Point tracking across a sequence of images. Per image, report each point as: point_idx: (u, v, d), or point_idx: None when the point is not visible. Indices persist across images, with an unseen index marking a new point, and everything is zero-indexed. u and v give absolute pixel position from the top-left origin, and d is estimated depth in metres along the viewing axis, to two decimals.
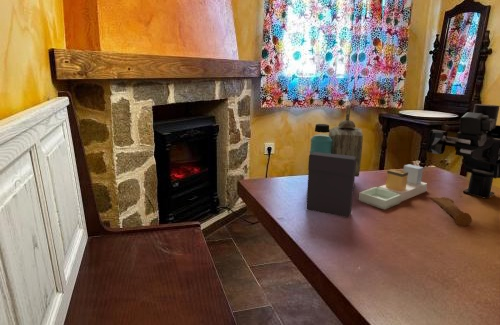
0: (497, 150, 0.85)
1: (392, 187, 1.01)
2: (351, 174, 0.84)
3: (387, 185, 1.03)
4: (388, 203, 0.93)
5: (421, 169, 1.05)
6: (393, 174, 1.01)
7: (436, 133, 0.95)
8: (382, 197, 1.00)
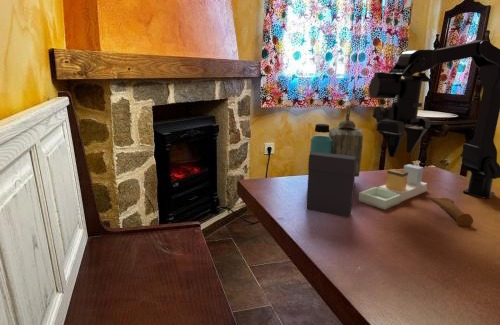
0: (386, 134, 0.94)
1: (392, 187, 1.01)
2: (351, 174, 0.84)
3: (387, 185, 1.03)
4: (388, 203, 0.93)
5: (421, 169, 1.05)
6: (393, 174, 1.01)
7: None
8: (382, 197, 1.00)
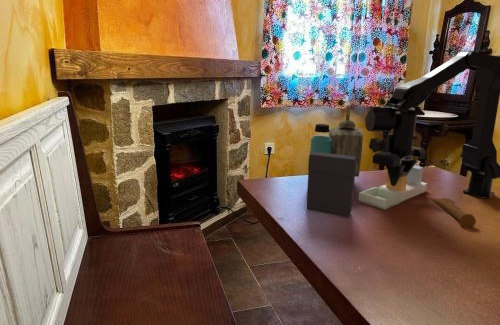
0: None
1: (392, 187, 1.01)
2: (351, 174, 0.84)
3: (387, 185, 1.03)
4: (388, 203, 0.93)
5: (421, 169, 1.05)
6: None
7: None
8: (382, 197, 1.00)
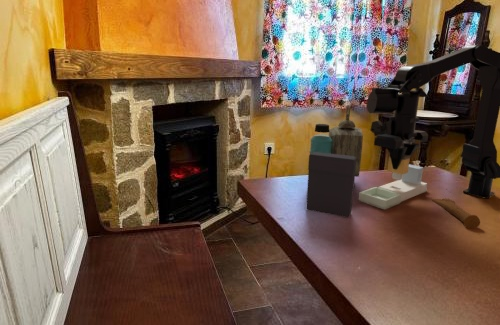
0: None
1: (394, 171, 1.00)
2: (351, 174, 0.84)
3: (389, 169, 1.01)
4: (388, 203, 0.93)
5: (421, 169, 1.05)
6: None
7: None
8: (382, 197, 1.00)
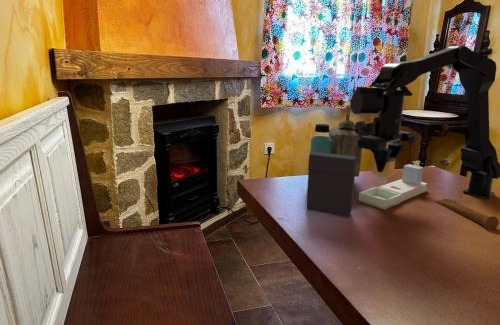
0: None
1: (379, 173, 0.95)
2: (351, 174, 0.84)
3: (374, 171, 0.96)
4: (388, 203, 0.93)
5: (421, 169, 1.05)
6: None
7: None
8: (382, 197, 1.00)
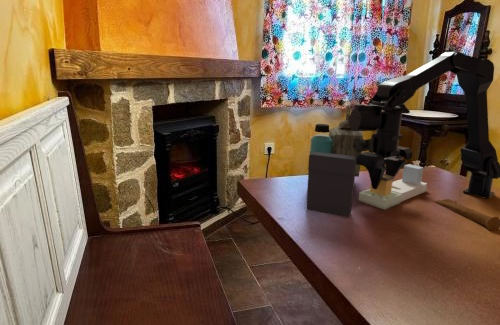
0: (368, 167, 0.92)
1: (376, 192, 0.97)
2: (351, 174, 0.84)
3: (371, 190, 0.98)
4: (388, 203, 0.93)
5: (421, 169, 1.05)
6: None
7: None
8: None
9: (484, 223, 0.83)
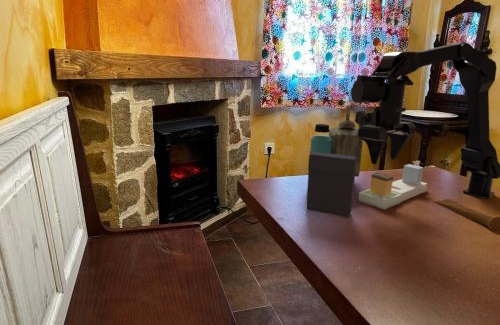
0: (367, 140, 0.89)
1: (376, 192, 0.97)
2: (351, 174, 0.84)
3: (371, 190, 0.98)
4: (388, 203, 0.93)
5: (421, 169, 1.05)
6: (377, 178, 0.96)
7: None
8: None
9: (486, 223, 0.83)
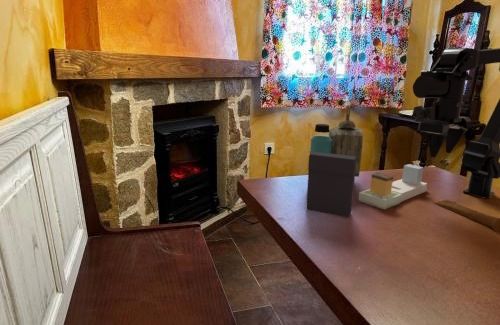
0: (428, 134, 0.92)
1: (376, 192, 0.97)
2: (351, 174, 0.84)
3: (371, 190, 0.98)
4: (388, 203, 0.93)
5: (421, 169, 1.05)
6: (377, 178, 0.96)
7: None
8: None
9: (490, 225, 0.83)
